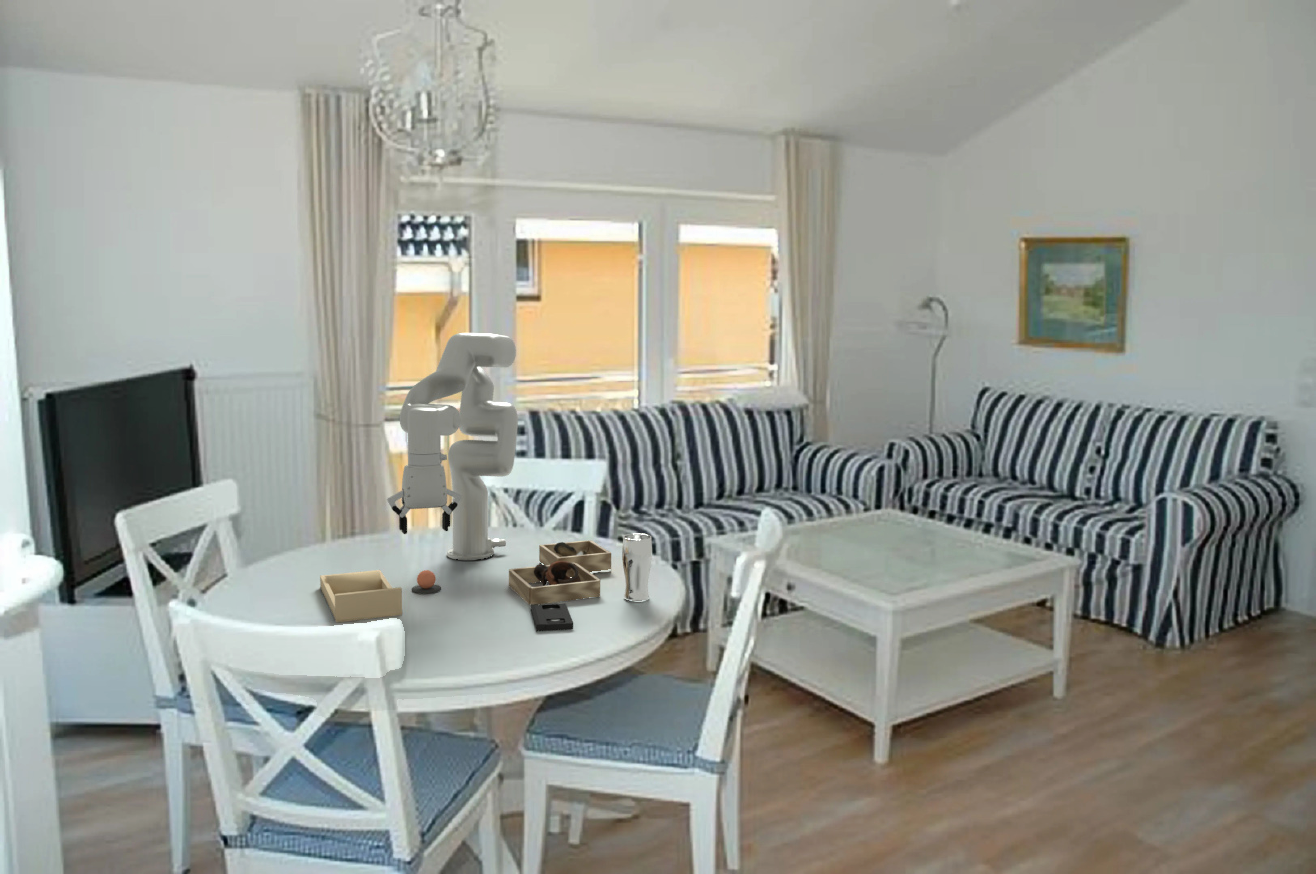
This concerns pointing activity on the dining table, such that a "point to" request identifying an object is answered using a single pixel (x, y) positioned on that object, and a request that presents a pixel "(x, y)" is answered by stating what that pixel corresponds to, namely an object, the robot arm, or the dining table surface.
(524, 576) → the shallow wooden box
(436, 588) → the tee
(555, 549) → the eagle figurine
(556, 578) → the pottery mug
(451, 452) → the robot arm
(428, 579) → the ball
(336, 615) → the wooden drawer
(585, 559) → the wooden tray
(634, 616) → the dining table surface
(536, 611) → the vhs tape
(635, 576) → the beer glass
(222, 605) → the dining table surface
